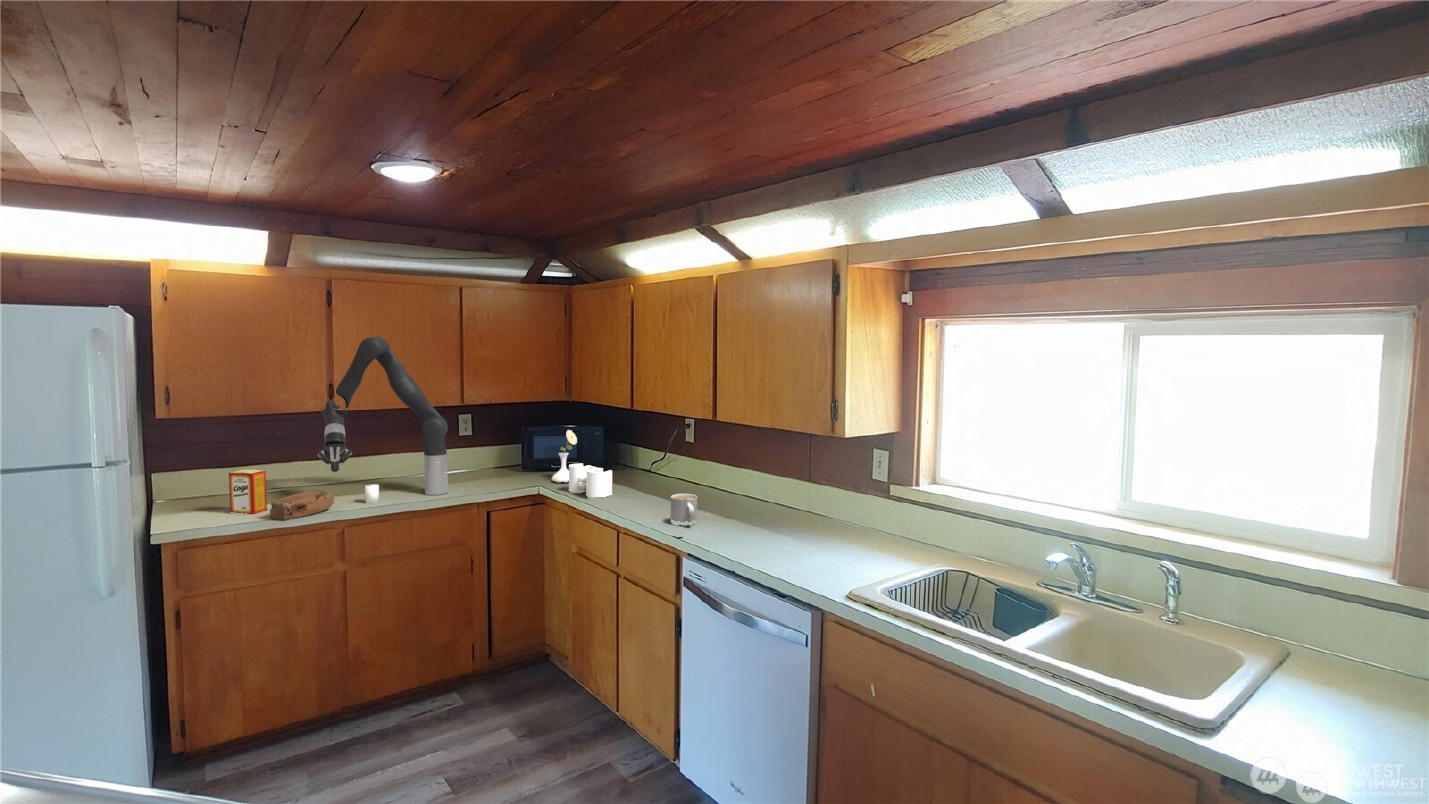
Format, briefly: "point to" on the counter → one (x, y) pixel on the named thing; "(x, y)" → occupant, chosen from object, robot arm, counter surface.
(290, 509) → the block
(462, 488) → the counter surface
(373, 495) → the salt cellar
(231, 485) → the baking soda box
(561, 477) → the flower in vase
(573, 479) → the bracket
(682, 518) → the coffee mug
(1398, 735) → the counter surface
